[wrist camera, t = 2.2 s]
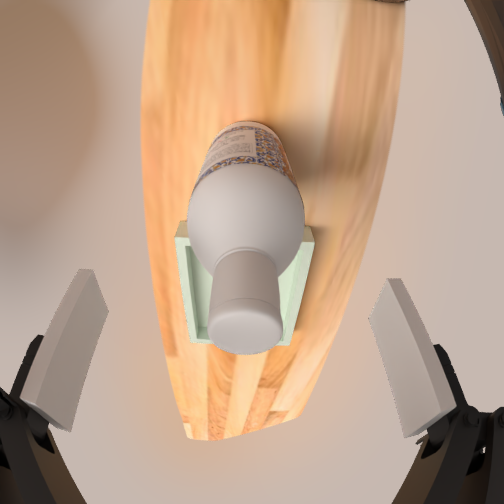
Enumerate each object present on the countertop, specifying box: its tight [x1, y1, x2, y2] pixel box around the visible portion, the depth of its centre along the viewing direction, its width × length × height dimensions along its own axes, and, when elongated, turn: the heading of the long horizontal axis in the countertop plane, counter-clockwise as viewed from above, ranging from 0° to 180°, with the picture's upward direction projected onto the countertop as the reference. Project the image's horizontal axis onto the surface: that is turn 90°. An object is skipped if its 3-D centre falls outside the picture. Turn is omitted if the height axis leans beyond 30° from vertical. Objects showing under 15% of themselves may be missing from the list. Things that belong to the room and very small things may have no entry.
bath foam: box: [187, 121, 305, 355], centre depth 19 cm, size 7×7×20 cm
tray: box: [175, 221, 315, 345], centre depth 36 cm, size 18×14×3 cm
